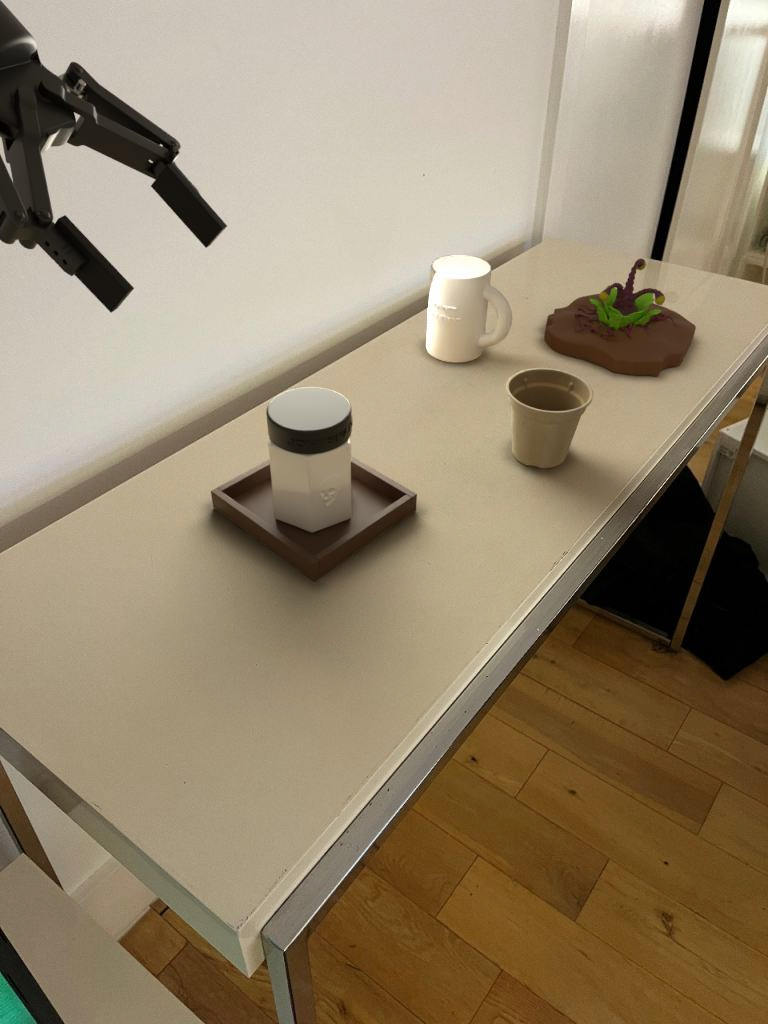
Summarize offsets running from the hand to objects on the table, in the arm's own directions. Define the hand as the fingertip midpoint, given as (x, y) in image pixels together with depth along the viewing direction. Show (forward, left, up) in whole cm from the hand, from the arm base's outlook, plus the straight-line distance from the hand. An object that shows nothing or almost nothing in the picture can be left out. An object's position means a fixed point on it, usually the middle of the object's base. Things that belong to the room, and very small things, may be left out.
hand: (173, 266), depth 61 cm
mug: (+47, +5, -28) cm, 55 cm away
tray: (+9, -5, -28) cm, 29 cm away
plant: (+66, -8, -28) cm, 72 cm away
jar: (+9, -5, -27) cm, 29 cm away
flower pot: (+34, -16, -28) cm, 47 cm away
